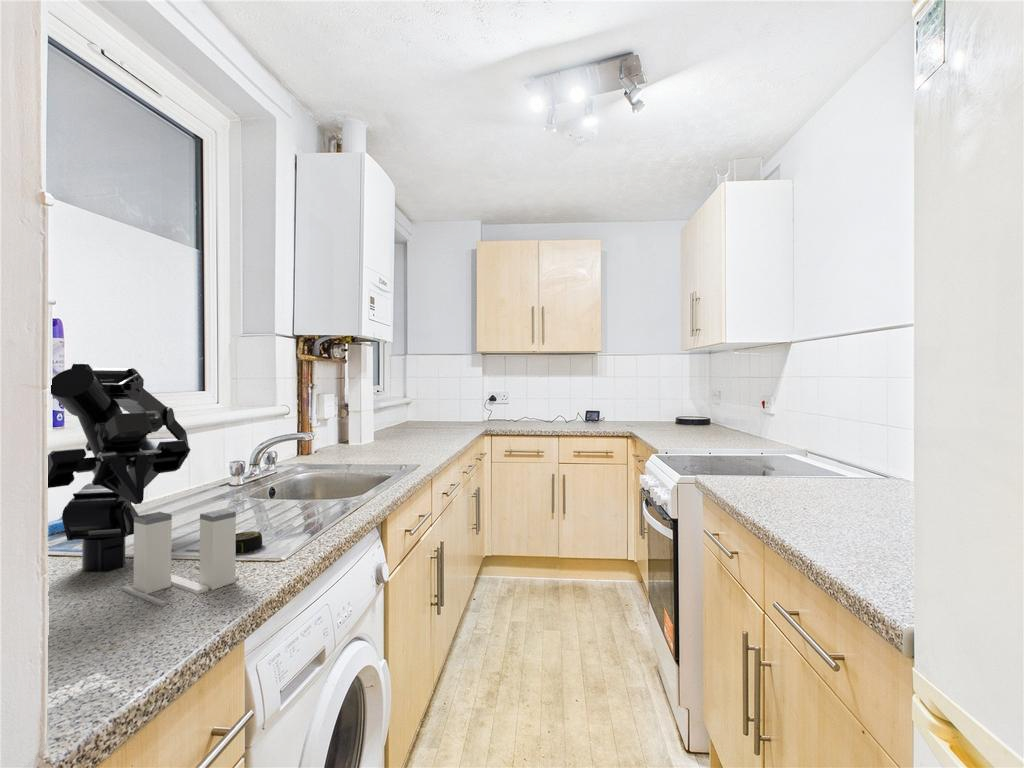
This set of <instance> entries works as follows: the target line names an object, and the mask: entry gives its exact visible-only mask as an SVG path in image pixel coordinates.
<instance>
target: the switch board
mask: <svg viewBox="0 0 1024 768" xmlns="http://www.w3.org/2000/svg"><path fill="white" fill-rule="evenodd" d="M194 568H195V569H196V570H199V571H200V564H196V565H194ZM239 579H240V577H239V576H238V575H237V576H236V575H235V582H237V581H239ZM171 586H173V587H176V588H179V589H182V590H184V591H187V592H191V593H192V594H195V595H199V594H202V593H205V592H208V591H209V588H208V586H205V585H202V584H200V582H196V581H193V580H191V579H187V578H184V577H180V576H178V575H175V574H172V573H171ZM121 591H123V592H126V593H128V594H131V595H133V596H136V597H138V598H139V599H140V598H141V599H143V600H145V601H148V602H150V603H153V604H155V605H156V606H157V605H158V606H161V607H164V606H167V601H165V600H162V599H160V598H159V597H158V598H157V597H155V596H153V595H150V594H145V593H142V592H140V591H137V590H135V589H134V588H132V587H130V586H127V585H125V586H121Z"/></svg>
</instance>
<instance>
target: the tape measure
mask: <svg viewBox="0 0 1024 768" xmlns="http://www.w3.org/2000/svg"><path fill="white" fill-rule="evenodd" d="M262 547H263V536H262V533H261V532H259V531H255V530H254V531H253V530H252V531H245V532H244V531H242V532H238V533H236V555H241V554H242V555H243V554H248V553H252V552H255V551H259V549H261V548H262Z"/></svg>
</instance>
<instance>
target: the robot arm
mask: <svg viewBox="0 0 1024 768" xmlns="http://www.w3.org/2000/svg"><path fill="white" fill-rule="evenodd" d="M51 379H52V385H51V393H50V395H52V396H53V397H54V399H56V401H57V402H58V403H59V404H60V405H61V406H63V408H64V409H65V410H66V411H67V412H68V413H69V414H71V415H72V416H75V417H77V419H78V421H79V423H80V424H79V425H80V426H81V428H82V430H83V433H84V434H85V438H86V440H87V442H86V444H85V448H86V449H85V448H74V449H73V448H72V449H71V448H70V449H59V450H51V451H50V453H49V454H48V455H47V456H48V488H47V489H51V488H59V487H65V486H66V487H67V486H70V485H71V484H72V483H73V482H74V480H75V476H74V473H75V472H76V473H77V474H78V473H79V474H82V473H88V472H89V473H90V472H92V474H93V475H94V477H93V479H92V481H91V482H90V483H87V484H85V485H84V486H83V487H82V488H81V489H80V490H79V491H78V492H74V493H72V496H73V498H71V499H70V500H69V501H68V503H67V504H66V505H65V507H64V508H63V509H62V512H61V513H62V514H61V520H62V524H63V528H64V532H65V537H66V540H67V541H68V542H69V541H77V540H79V541H80V540H82V543H81V545H82V550H81V551H82V553H81V555H82V556H81V560H82V561H81V564H82V566H81V567H82V568H81V569H82V570H81V571H82V572H85V573H108V572H109V573H110V572H112V571H116V570H120V569H122V568H125V564H126V538H127V537H129V536H132V535H134V517H135V516H140V515H139V514H138V512H137V510H136V509H135V507H134V506H133V504H134V505H140V504H142V503H143V502H144V497H145V496H144V491H145V488H147V486H148V485H150V483H151V482H152V481H153V480H154V479H155V478H157V477H158V475H159V474H164V473H169V472H170V473H171V472H176V471H178V470H180V469H181V467H182V465H183V464H184V463H185V461H186V459H187V458H188V456H189V454H190V452H191V448H190V446H189V440H188V435H187V431H186V429H185V428H184V427H183V426H182V425H181V424H180V423H179V422H178V421H177V420H176V418H175V417H176V416H175V412H174V409H173V408H171V407H169V406H166V405H165V404H164V403H162V402H161V401H160V400H159V399H157V398H156V397H155V396H154V395H152V394H151V393H150V392H149V391H148V390H146V389H145V388H144V386H145V385H144V382H145V379H144V378H143V377H142V375H141V374H140V373H139V372H138V370H137V369H136V368H133V367H91V365H90V364H89V363H73V364H72V366H71V368H68V369H65V370H63V371H60V372H59V373H57V374H56V375H54V376H53V378H51ZM121 408H122V409H123V410H124V411H126V412H127V413H125V412H124V413H123V411H122V409H121ZM163 427H165V428H166V430H167V431H169V432H170V434H171V435H172V436H173V437H148V438H147V436H148V435H149V434H152V433H156V432H158V431H160V429H162V428H163ZM86 451H87V452H92V454H93V456H92V457H86V456H87V452H86Z"/></svg>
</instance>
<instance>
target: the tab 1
mask: <svg viewBox="0 0 1024 768" xmlns="http://www.w3.org/2000/svg"><path fill="white" fill-rule="evenodd" d="M172 517H173V514H171V513H167V512H162V511H157V512H151V513H145V514H142V515H139V516H135V517H134V534H133V589H135V590H137V591H140V592H142V593H145V594H147V595H149V594H152V593H155V592H157V591H158V592H159V591H160V590H164V589H166V588H171V587H172V585H171V574H172V538H173V537H172V529H173V527H172V525H173V524H172V523H173V522H172V520H173V518H172Z"/></svg>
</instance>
